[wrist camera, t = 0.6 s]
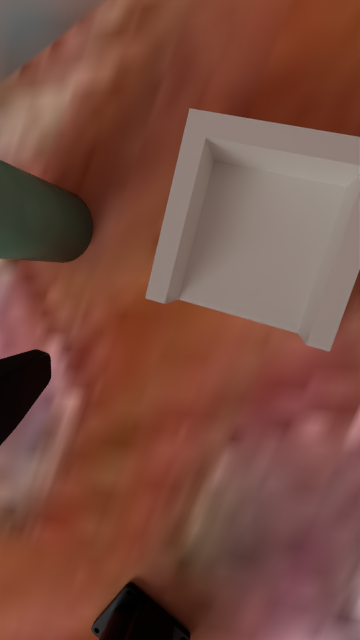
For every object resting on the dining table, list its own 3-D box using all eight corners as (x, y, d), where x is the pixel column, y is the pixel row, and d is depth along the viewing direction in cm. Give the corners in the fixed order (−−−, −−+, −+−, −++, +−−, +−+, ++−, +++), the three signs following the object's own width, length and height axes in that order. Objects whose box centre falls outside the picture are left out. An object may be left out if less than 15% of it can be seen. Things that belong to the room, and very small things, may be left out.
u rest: (314, 337, 20) (329, 351, 16) (164, 294, 22) (145, 298, 18) (372, 172, 18) (404, 144, 14) (202, 141, 20) (189, 108, 16)
